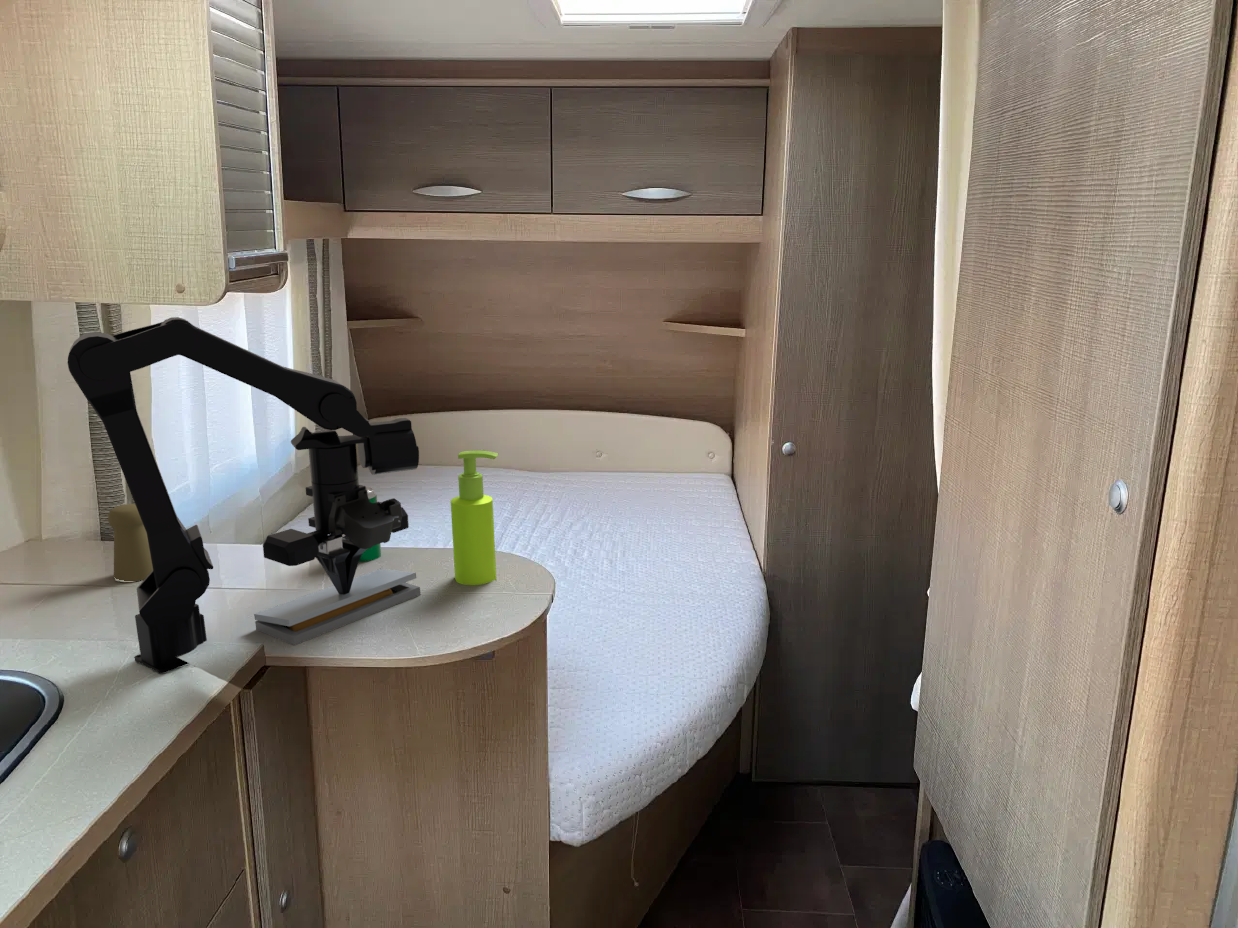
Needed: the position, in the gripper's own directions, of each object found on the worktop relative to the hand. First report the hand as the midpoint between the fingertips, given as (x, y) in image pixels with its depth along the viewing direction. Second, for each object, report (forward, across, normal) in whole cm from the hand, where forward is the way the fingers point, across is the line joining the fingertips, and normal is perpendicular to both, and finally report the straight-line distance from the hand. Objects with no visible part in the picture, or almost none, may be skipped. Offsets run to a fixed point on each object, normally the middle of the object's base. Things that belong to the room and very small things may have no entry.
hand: (344, 594), depth 122 cm
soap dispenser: (+4, +19, -5) cm, 21 cm away
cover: (+1, 0, +1) cm, 1 cm away
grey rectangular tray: (+4, 0, +1) cm, 4 cm away
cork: (+5, -6, +41) cm, 42 cm away
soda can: (+4, +16, +16) cm, 23 cm away
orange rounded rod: (+3, 0, +1) cm, 3 cm away
